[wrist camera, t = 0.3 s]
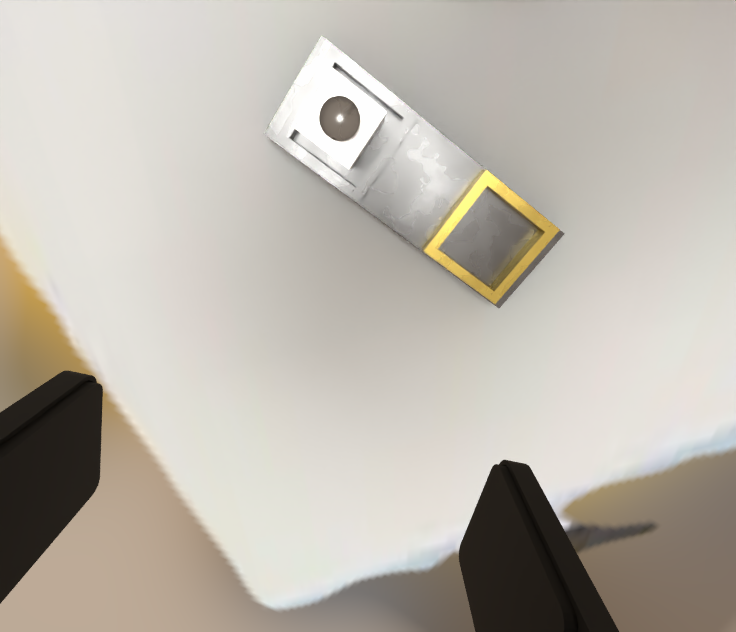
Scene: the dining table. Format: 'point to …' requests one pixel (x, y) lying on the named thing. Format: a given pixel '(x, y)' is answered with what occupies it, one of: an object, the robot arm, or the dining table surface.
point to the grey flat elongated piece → (422, 185)
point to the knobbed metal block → (341, 119)
